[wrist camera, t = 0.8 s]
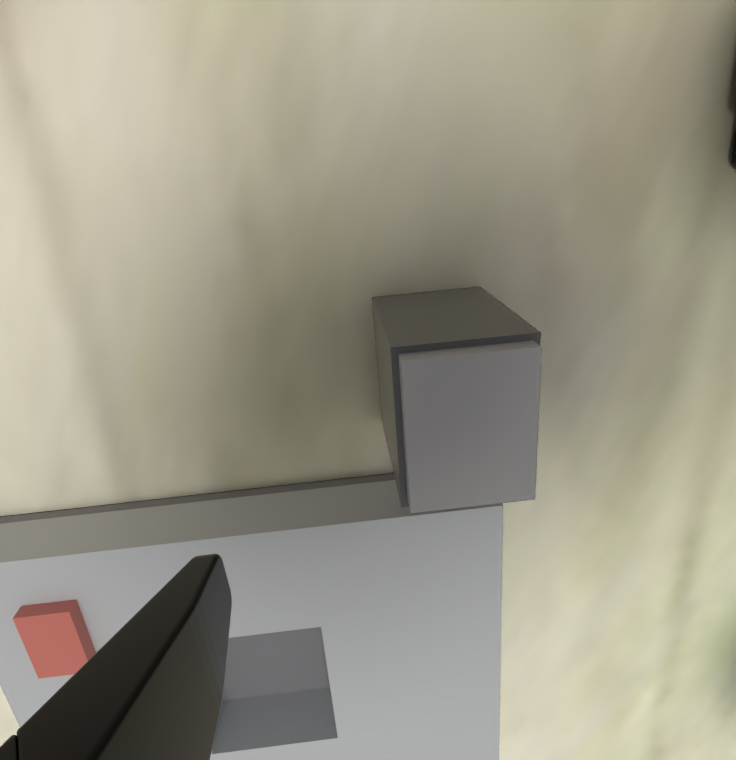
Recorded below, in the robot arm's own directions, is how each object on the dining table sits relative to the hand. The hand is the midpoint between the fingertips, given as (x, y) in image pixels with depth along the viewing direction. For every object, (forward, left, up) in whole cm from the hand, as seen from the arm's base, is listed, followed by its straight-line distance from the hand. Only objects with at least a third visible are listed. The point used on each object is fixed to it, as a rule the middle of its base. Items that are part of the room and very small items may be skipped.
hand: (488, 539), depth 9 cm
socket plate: (+7, +14, -12) cm, 20 cm away
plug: (-1, +1, -12) cm, 12 cm away
